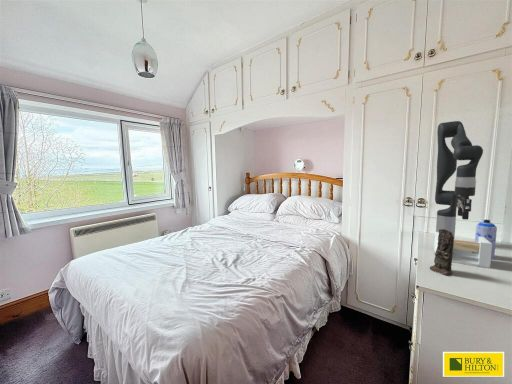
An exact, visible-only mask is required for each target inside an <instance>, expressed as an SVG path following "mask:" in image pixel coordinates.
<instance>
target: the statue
mask: <svg viewBox="0 0 512 384" xmlns="http://www.w3.org/2000/svg"><path fill="white" fill-rule="evenodd" d="M454 239H455V238H454V237H453V235H452V233H451V232H450V231H448V230H446V229H439V236H438V246H437V250H436V253H435V254H434V260H433V263H434V264H433V265H431V266H429V270H430V271H433V272H435V271H436V273H438V272H439V274H442V275H444V276H449V275H452V274H453V272H452V264H453V262H452V255H453V246H454Z"/></svg>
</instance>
